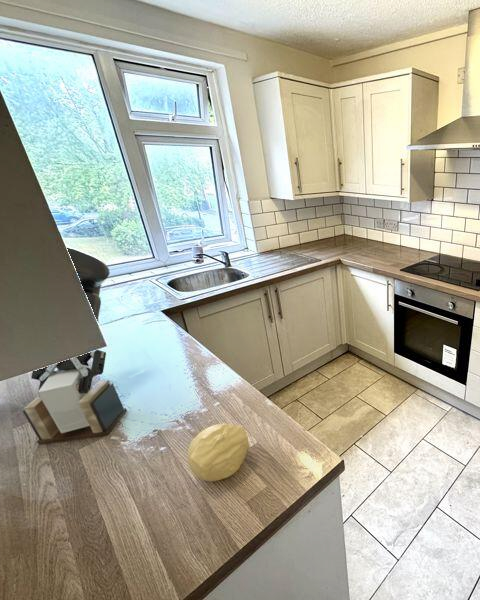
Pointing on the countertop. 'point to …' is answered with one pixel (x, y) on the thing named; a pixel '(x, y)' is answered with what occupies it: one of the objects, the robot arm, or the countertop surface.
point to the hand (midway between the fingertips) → (63, 394)
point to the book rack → (95, 405)
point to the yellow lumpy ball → (218, 451)
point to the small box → (64, 400)
